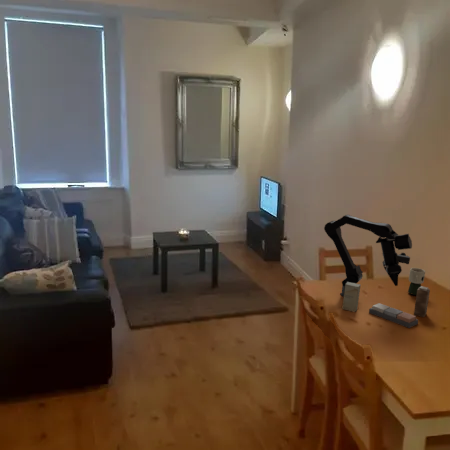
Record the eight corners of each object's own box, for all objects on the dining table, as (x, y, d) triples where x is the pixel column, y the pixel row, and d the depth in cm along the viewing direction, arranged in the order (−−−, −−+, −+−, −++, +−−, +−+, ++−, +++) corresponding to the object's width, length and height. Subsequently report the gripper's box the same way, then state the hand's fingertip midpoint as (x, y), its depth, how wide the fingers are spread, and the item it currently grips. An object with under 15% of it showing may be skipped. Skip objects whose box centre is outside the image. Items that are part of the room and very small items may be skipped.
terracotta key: (396, 319, 210) (397, 314, 210) (403, 316, 214) (404, 311, 213) (408, 323, 206) (409, 319, 205) (415, 320, 209) (416, 316, 209)
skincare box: (341, 309, 222) (344, 284, 219) (344, 306, 226) (347, 281, 223) (355, 312, 219) (358, 286, 217) (357, 309, 223) (360, 284, 220)
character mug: (421, 299, 240) (425, 274, 237) (406, 296, 243) (409, 271, 240) (421, 292, 250) (425, 268, 247) (407, 289, 253) (410, 265, 250)
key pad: (368, 312, 219) (369, 305, 219) (377, 309, 224) (378, 302, 223) (409, 328, 205) (410, 320, 204) (417, 324, 210) (418, 316, 209)
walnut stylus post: (413, 314, 220) (417, 287, 217) (416, 311, 224) (419, 285, 221) (424, 317, 218) (428, 290, 215) (426, 314, 221) (430, 287, 218)
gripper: (410, 251, 214) (416, 285, 215) (403, 244, 232) (409, 276, 233) (384, 255, 216) (390, 289, 217) (379, 249, 235) (385, 280, 235)
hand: (395, 283), depth 226 cm, fingers open, 9 cm apart
